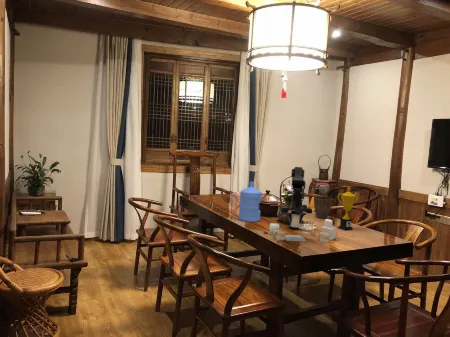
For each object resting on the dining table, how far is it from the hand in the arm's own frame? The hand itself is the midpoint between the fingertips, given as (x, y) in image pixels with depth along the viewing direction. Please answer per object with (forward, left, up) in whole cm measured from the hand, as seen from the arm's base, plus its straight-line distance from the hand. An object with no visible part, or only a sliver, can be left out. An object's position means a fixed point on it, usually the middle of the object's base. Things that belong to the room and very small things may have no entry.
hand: (294, 223), depth 228 cm
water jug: (-46, -20, -9) cm, 51 cm away
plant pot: (-61, +40, -9) cm, 73 cm away
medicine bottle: (-3, +23, -9) cm, 25 cm away
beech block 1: (+3, -10, -9) cm, 14 cm away
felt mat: (0, 0, -9) cm, 9 cm away
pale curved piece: (-10, -10, -9) cm, 17 cm away
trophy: (-28, +45, -9) cm, 54 cm away
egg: (0, 0, -2) cm, 2 cm away
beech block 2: (+5, +17, -9) cm, 20 cm away
